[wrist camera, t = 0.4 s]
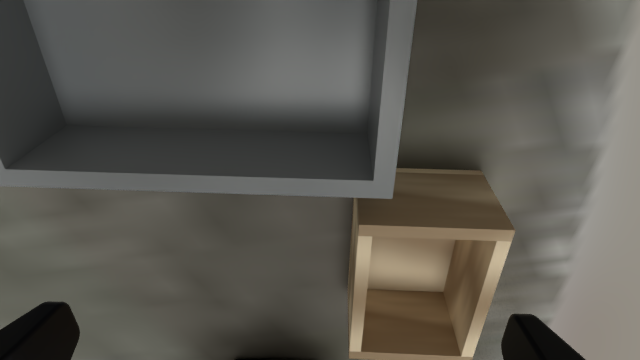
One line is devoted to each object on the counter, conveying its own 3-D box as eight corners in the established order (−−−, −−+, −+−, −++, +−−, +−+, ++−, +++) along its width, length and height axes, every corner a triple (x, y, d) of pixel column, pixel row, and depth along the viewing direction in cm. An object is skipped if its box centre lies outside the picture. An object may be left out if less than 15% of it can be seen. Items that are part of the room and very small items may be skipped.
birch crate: (449, 291, 26) (470, 364, 21) (347, 287, 26) (348, 358, 22) (480, 168, 21) (515, 230, 17) (355, 165, 21) (358, 224, 17)
